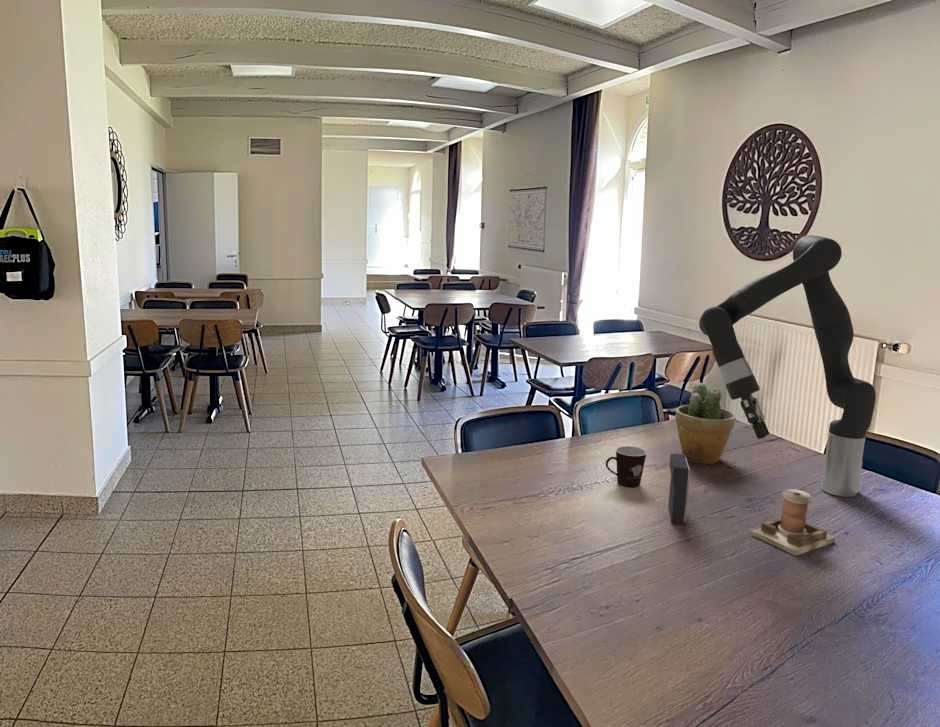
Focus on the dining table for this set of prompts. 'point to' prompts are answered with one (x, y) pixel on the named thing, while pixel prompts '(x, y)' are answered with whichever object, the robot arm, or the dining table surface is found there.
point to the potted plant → (704, 425)
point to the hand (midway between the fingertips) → (764, 436)
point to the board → (793, 537)
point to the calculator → (678, 488)
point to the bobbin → (794, 512)
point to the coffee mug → (629, 465)
